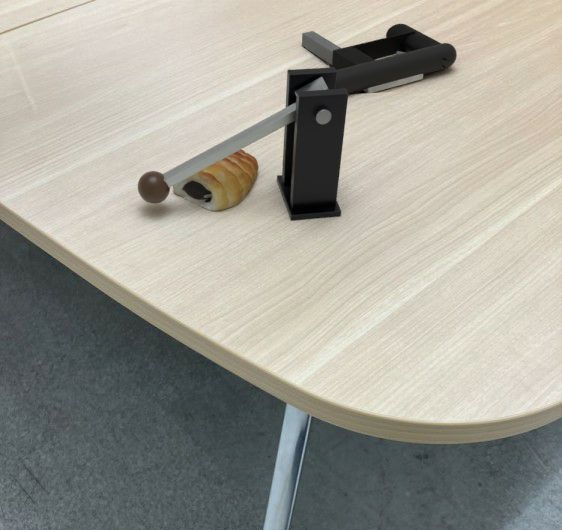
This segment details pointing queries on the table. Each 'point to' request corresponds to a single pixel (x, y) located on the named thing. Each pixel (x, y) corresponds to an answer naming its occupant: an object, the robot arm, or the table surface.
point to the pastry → (221, 182)
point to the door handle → (387, 71)
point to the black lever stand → (313, 146)
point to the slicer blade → (218, 151)
